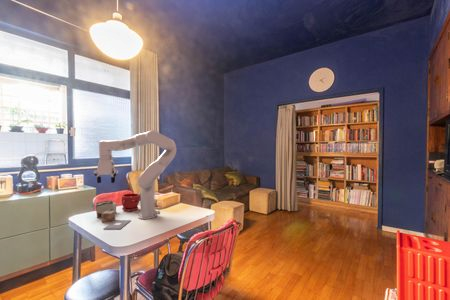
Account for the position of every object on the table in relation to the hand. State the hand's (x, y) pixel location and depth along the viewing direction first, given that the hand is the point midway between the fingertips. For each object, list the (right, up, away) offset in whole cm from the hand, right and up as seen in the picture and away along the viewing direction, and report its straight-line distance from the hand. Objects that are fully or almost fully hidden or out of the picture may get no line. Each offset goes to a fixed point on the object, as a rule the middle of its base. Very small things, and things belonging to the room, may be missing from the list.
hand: (106, 182), depth 150 cm
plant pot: (+8, -25, +21) cm, 34 cm away
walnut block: (+4, -25, -5) cm, 26 cm away
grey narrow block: (-3, -25, +13) cm, 28 cm away
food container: (-6, -25, +6) cm, 26 cm away
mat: (+14, -25, -13) cm, 31 cm away
